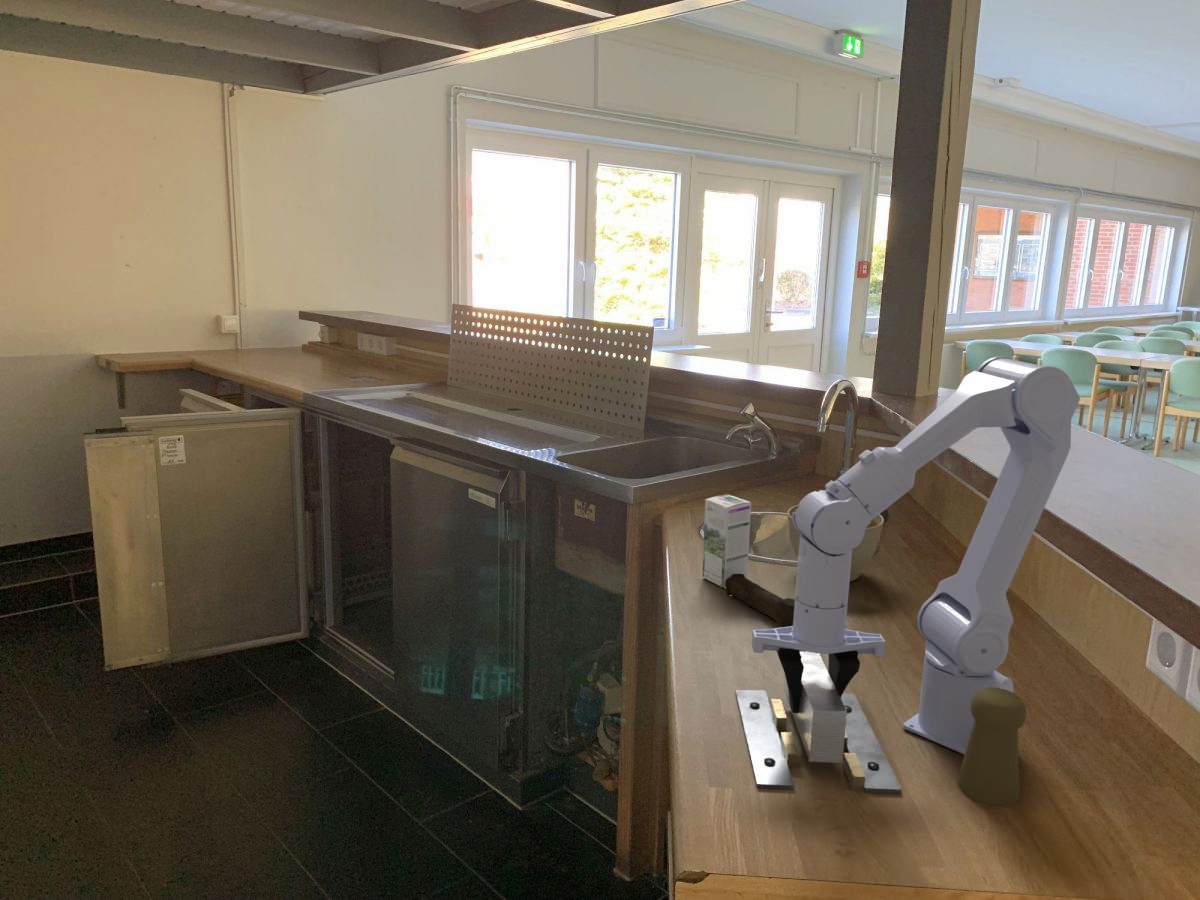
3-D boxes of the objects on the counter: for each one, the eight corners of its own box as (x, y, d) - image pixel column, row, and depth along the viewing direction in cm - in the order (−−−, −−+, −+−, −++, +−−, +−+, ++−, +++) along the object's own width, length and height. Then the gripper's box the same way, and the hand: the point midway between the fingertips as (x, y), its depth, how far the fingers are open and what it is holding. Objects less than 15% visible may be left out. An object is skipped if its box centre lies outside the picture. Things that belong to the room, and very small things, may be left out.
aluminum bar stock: (811, 689, 107) (815, 645, 106) (842, 762, 92) (846, 711, 91) (783, 688, 108) (786, 644, 106) (809, 761, 92) (813, 710, 91)
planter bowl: (826, 552, 163) (830, 496, 160) (897, 579, 150) (903, 519, 147) (764, 568, 154) (768, 509, 151) (835, 598, 141) (840, 535, 138)
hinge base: (853, 697, 109) (854, 685, 109) (901, 793, 90) (902, 780, 90) (735, 693, 110) (735, 681, 110) (757, 788, 90) (757, 774, 90)
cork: (957, 798, 89) (969, 702, 87) (956, 766, 95) (967, 675, 92) (1021, 812, 87) (1035, 714, 85) (1016, 779, 93) (1029, 686, 90)
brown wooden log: (722, 596, 141) (724, 570, 140) (743, 593, 143) (744, 566, 142) (794, 644, 125) (796, 615, 124) (816, 640, 126) (818, 610, 125)
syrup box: (748, 582, 147) (753, 501, 144) (722, 589, 144) (727, 506, 140) (725, 572, 152) (730, 492, 148) (700, 578, 148) (704, 497, 145)
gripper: (877, 587, 100) (866, 694, 103) (751, 583, 100) (744, 689, 103) (895, 612, 93) (883, 725, 96) (759, 607, 93) (752, 721, 96)
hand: (812, 709), depth 99 cm, fingers closed on aluminum bar stock, 3 cm apart
